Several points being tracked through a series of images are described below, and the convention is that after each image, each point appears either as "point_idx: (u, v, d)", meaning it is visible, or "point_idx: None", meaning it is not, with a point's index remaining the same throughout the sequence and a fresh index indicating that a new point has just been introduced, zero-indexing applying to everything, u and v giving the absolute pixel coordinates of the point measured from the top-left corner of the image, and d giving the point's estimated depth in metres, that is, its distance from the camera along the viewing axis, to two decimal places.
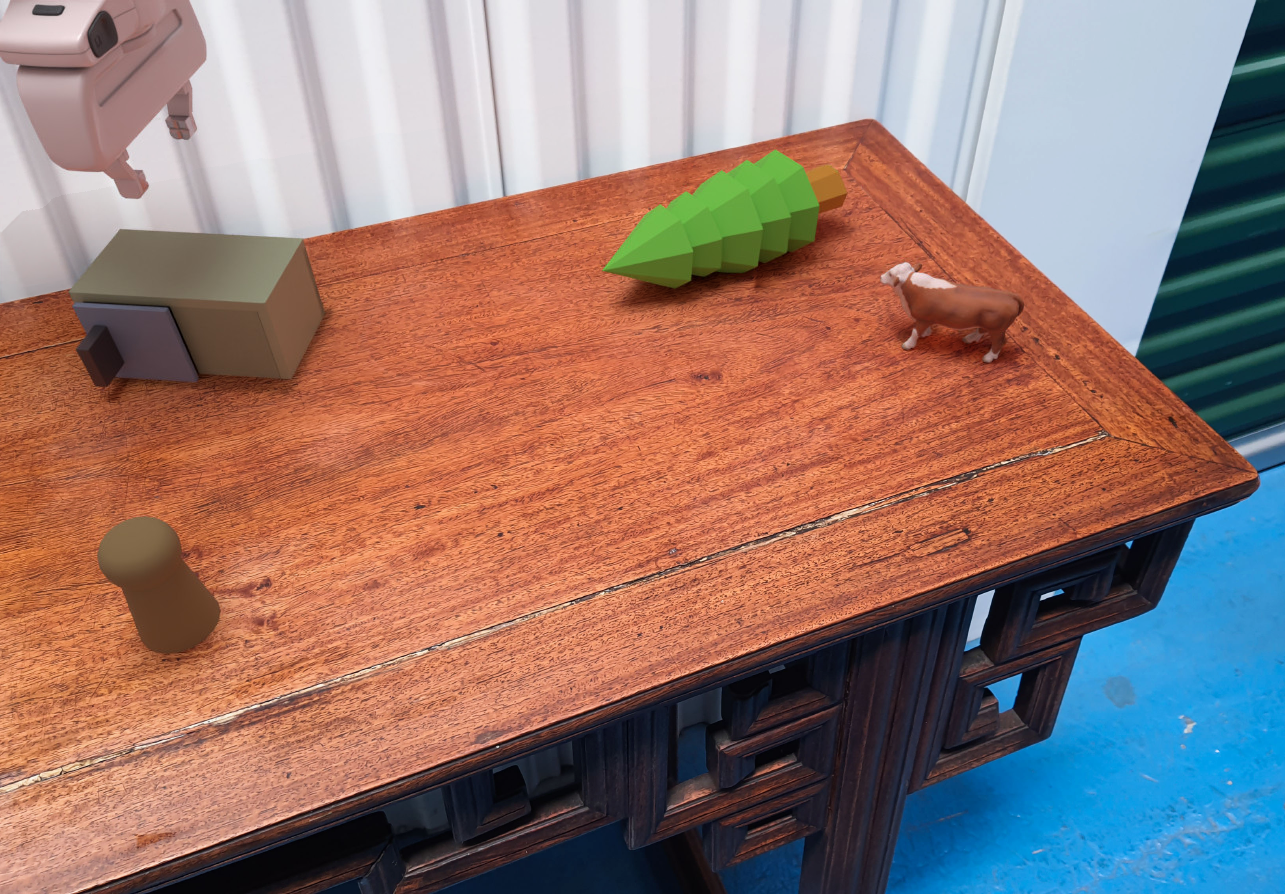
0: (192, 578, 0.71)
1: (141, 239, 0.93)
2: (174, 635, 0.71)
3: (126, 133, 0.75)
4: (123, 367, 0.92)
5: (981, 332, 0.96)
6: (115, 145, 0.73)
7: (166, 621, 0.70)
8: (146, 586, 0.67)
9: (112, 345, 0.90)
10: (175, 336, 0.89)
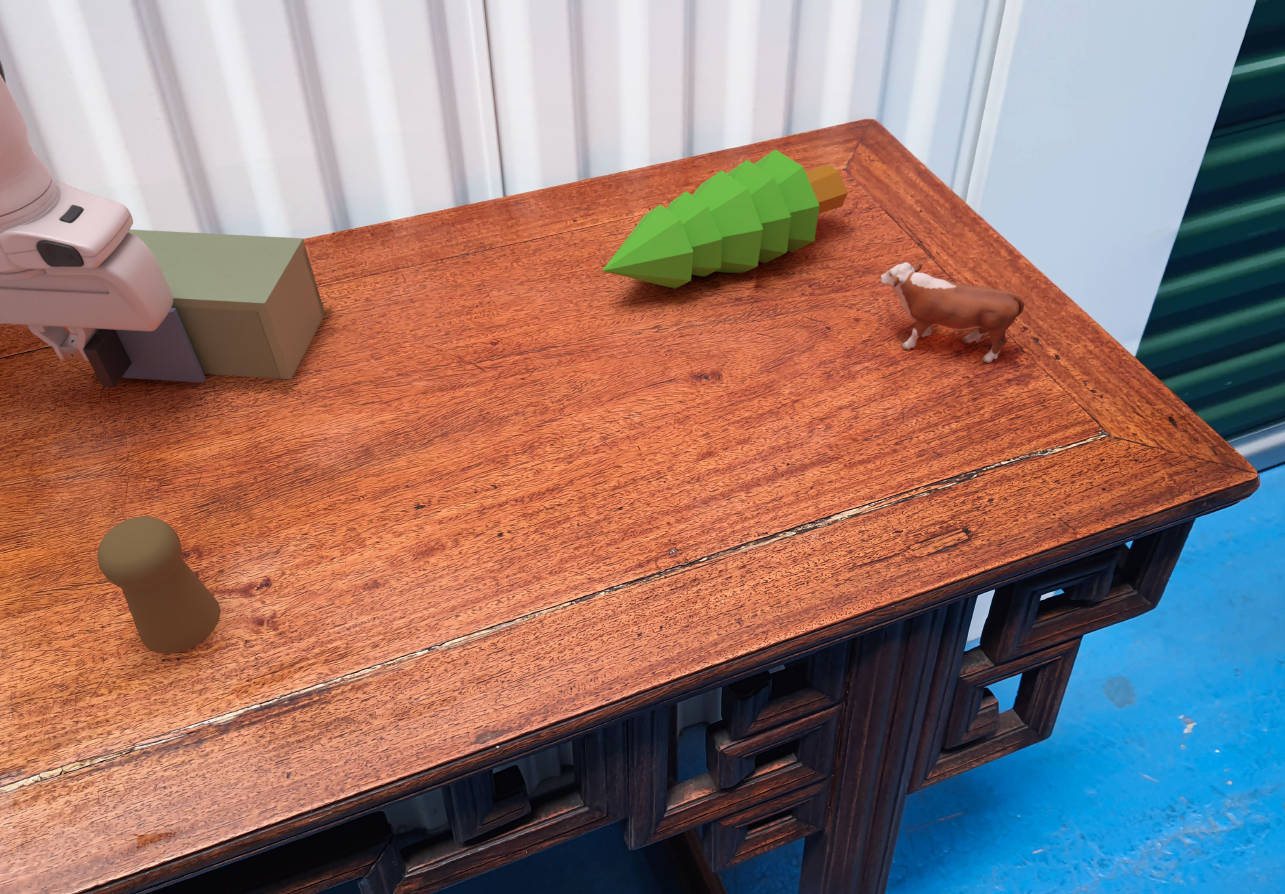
0: (191, 578, 0.71)
1: (141, 239, 0.93)
2: (174, 635, 0.71)
3: None
4: (130, 368, 0.92)
5: (981, 332, 0.96)
6: None
7: (166, 621, 0.70)
8: (146, 586, 0.67)
9: (119, 346, 0.90)
10: (183, 336, 0.89)
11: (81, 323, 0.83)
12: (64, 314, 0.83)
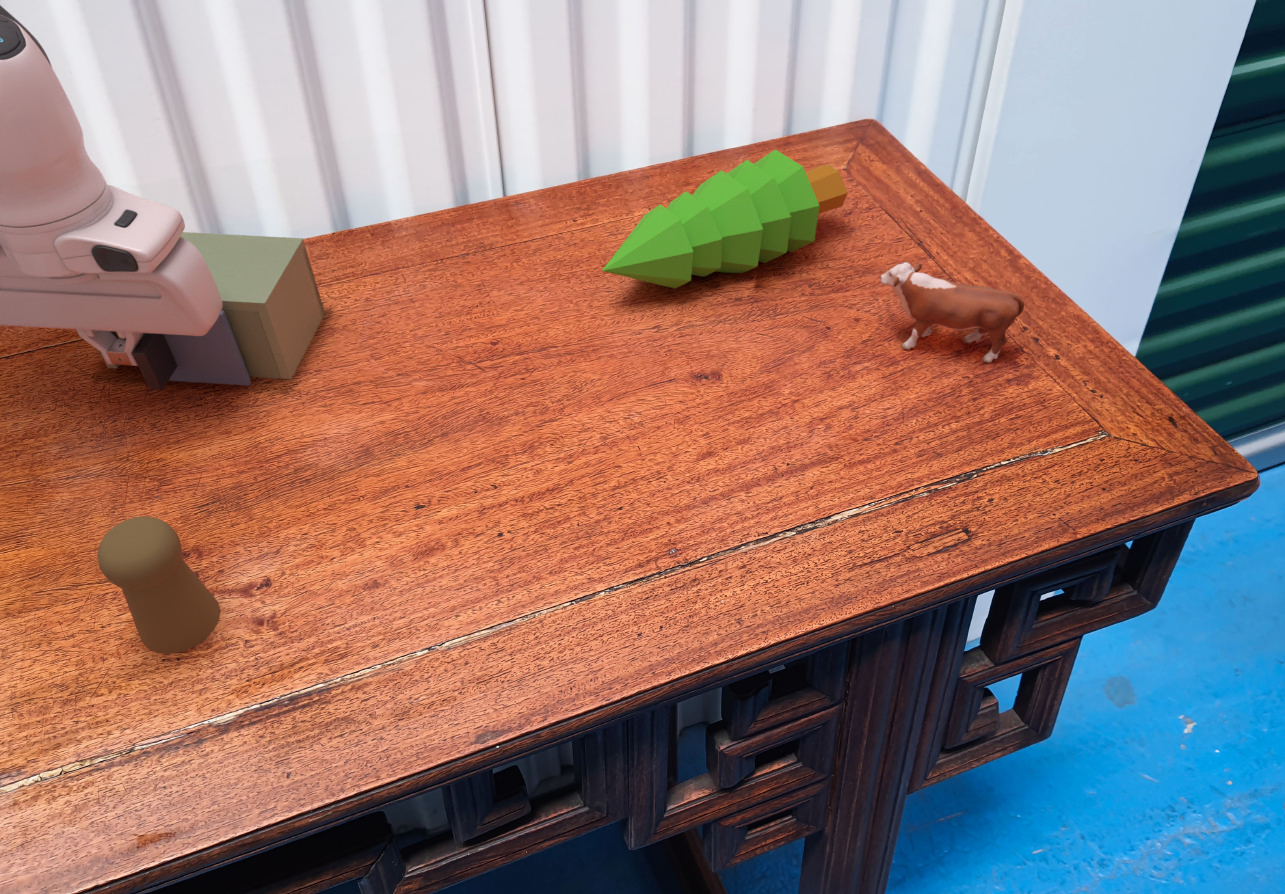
0: (192, 578, 0.71)
1: None
2: (173, 635, 0.71)
3: None
4: (176, 371, 0.92)
5: (981, 332, 0.96)
6: None
7: (166, 621, 0.70)
8: (146, 586, 0.67)
9: (166, 348, 0.89)
10: (230, 339, 0.88)
11: (132, 328, 0.83)
12: (114, 319, 0.82)
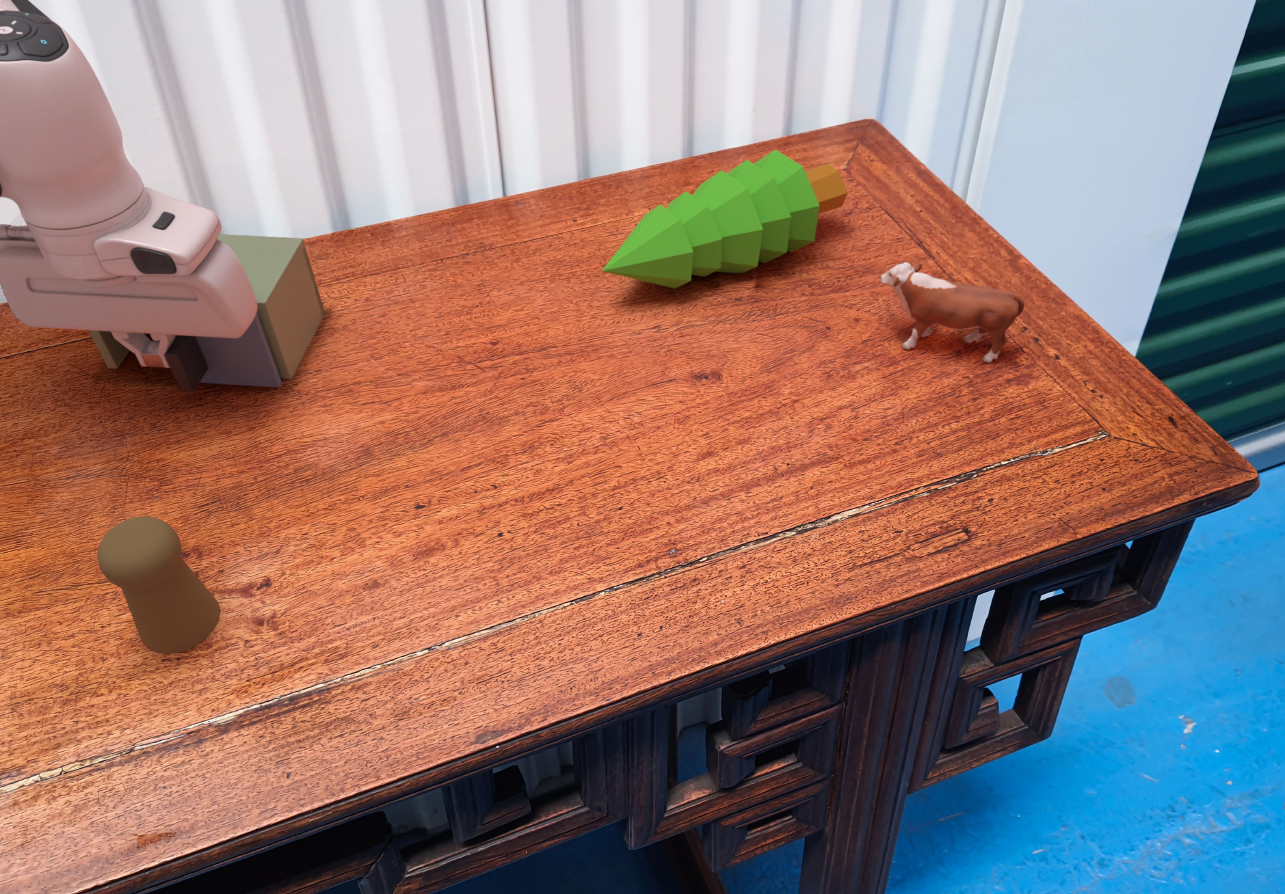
0: (191, 578, 0.71)
1: None
2: (174, 635, 0.71)
3: None
4: (206, 373, 0.92)
5: (981, 332, 0.96)
6: None
7: (166, 621, 0.70)
8: (146, 586, 0.67)
9: (198, 350, 0.89)
10: (262, 341, 0.88)
11: (167, 330, 0.83)
12: (150, 321, 0.82)
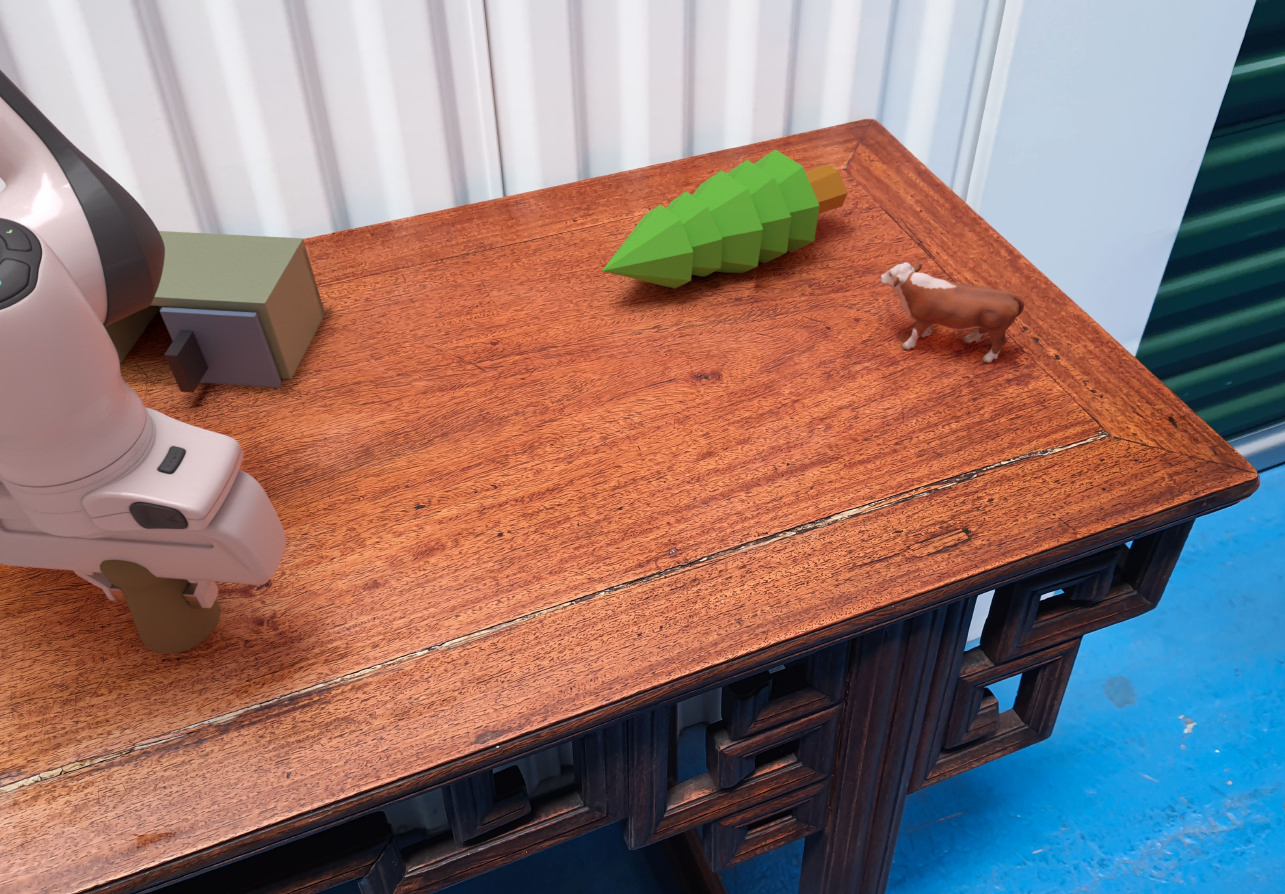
0: None
1: None
2: (173, 635, 0.71)
3: None
4: (206, 373, 0.92)
5: (981, 332, 0.96)
6: None
7: (166, 621, 0.70)
8: (145, 586, 0.67)
9: (198, 350, 0.89)
10: (262, 341, 0.88)
11: (174, 575, 0.67)
12: (153, 565, 0.66)
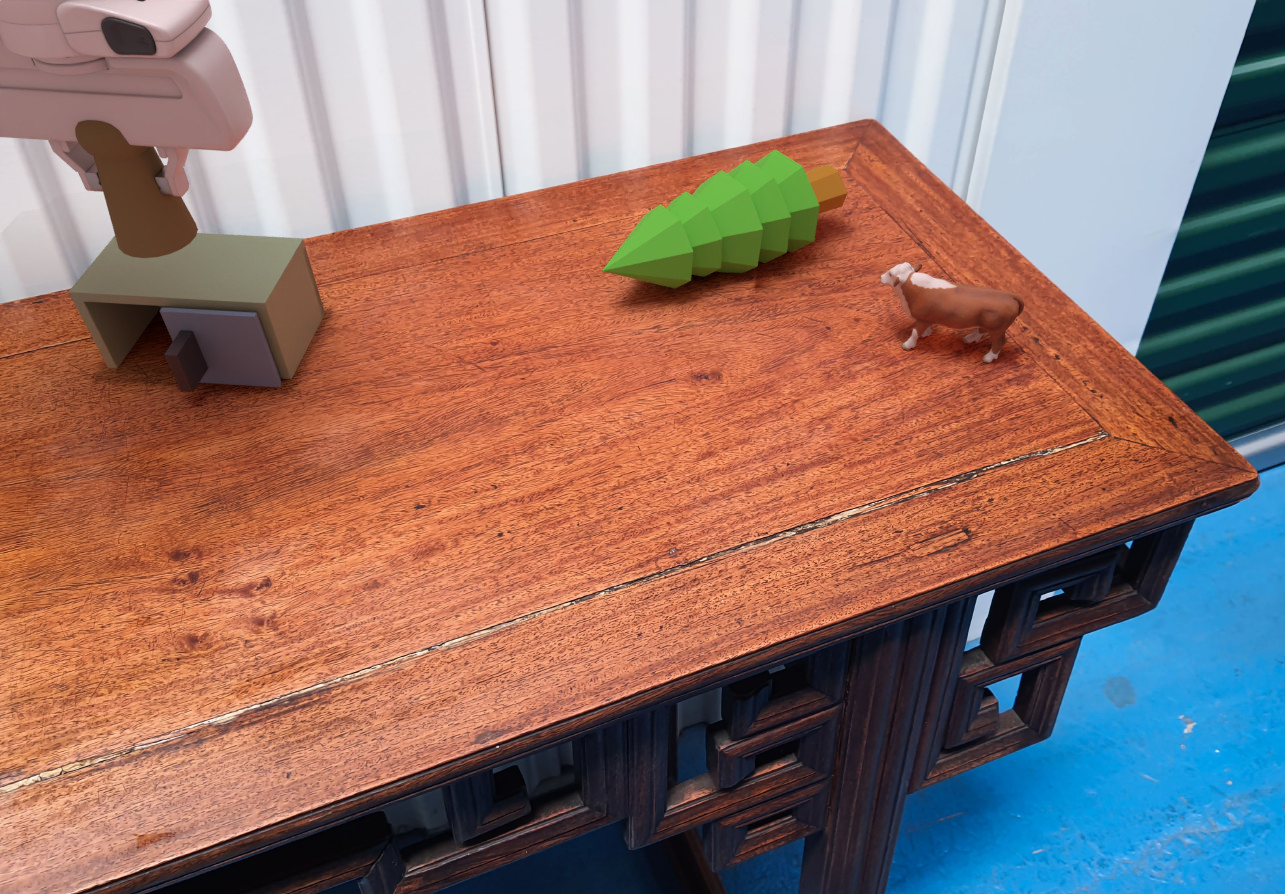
0: None
1: None
2: (145, 222, 0.75)
3: None
4: (206, 373, 0.92)
5: (981, 332, 0.96)
6: None
7: (138, 203, 0.74)
8: (118, 153, 0.71)
9: (198, 350, 0.89)
10: (262, 341, 0.88)
11: (146, 139, 0.70)
12: (126, 126, 0.70)
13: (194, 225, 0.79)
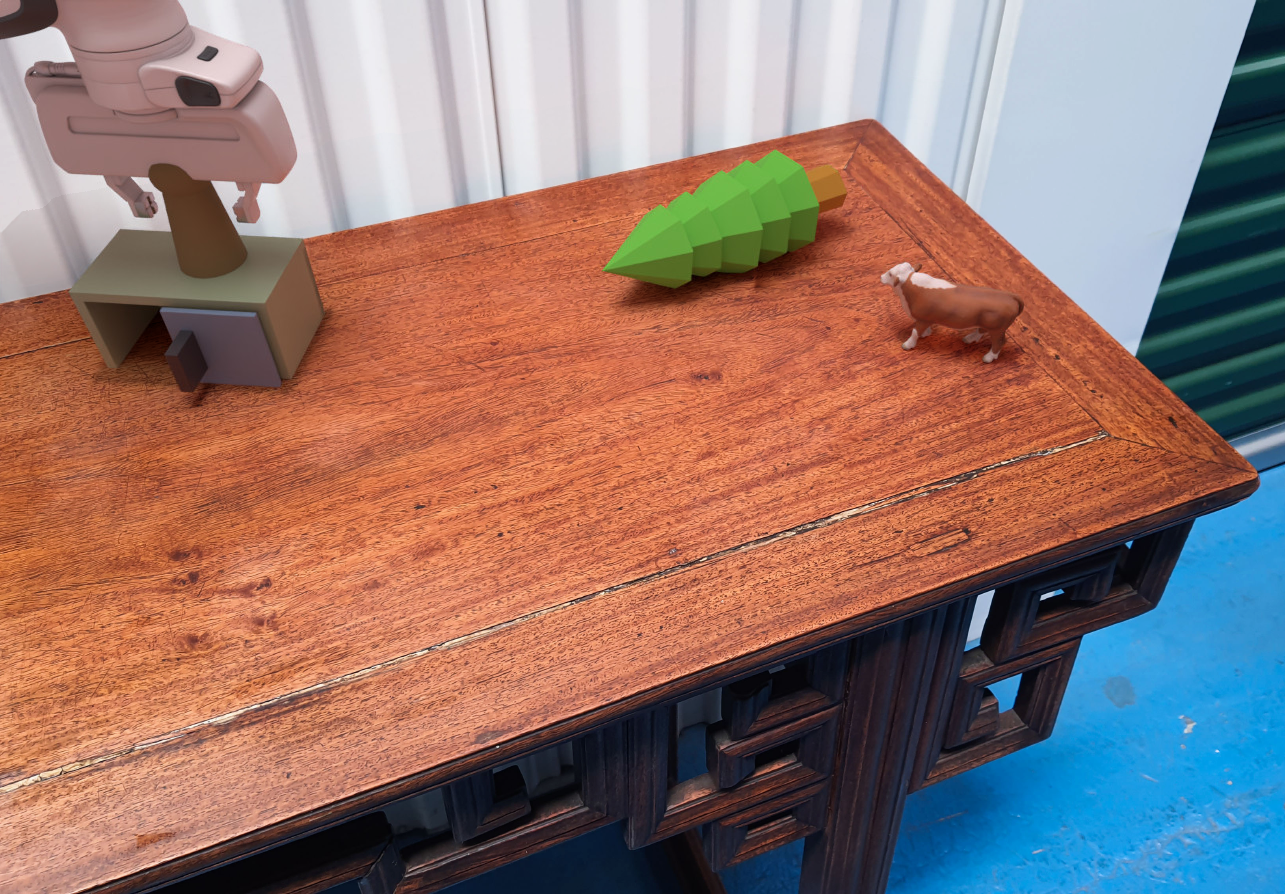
0: (220, 202, 0.87)
1: (141, 239, 0.93)
2: (205, 248, 0.87)
3: None
4: (206, 373, 0.92)
5: (981, 332, 0.96)
6: None
7: (199, 232, 0.86)
8: (184, 190, 0.83)
9: (198, 350, 0.89)
10: (262, 341, 0.88)
11: (207, 175, 0.83)
12: (190, 164, 0.82)
13: (245, 249, 0.91)
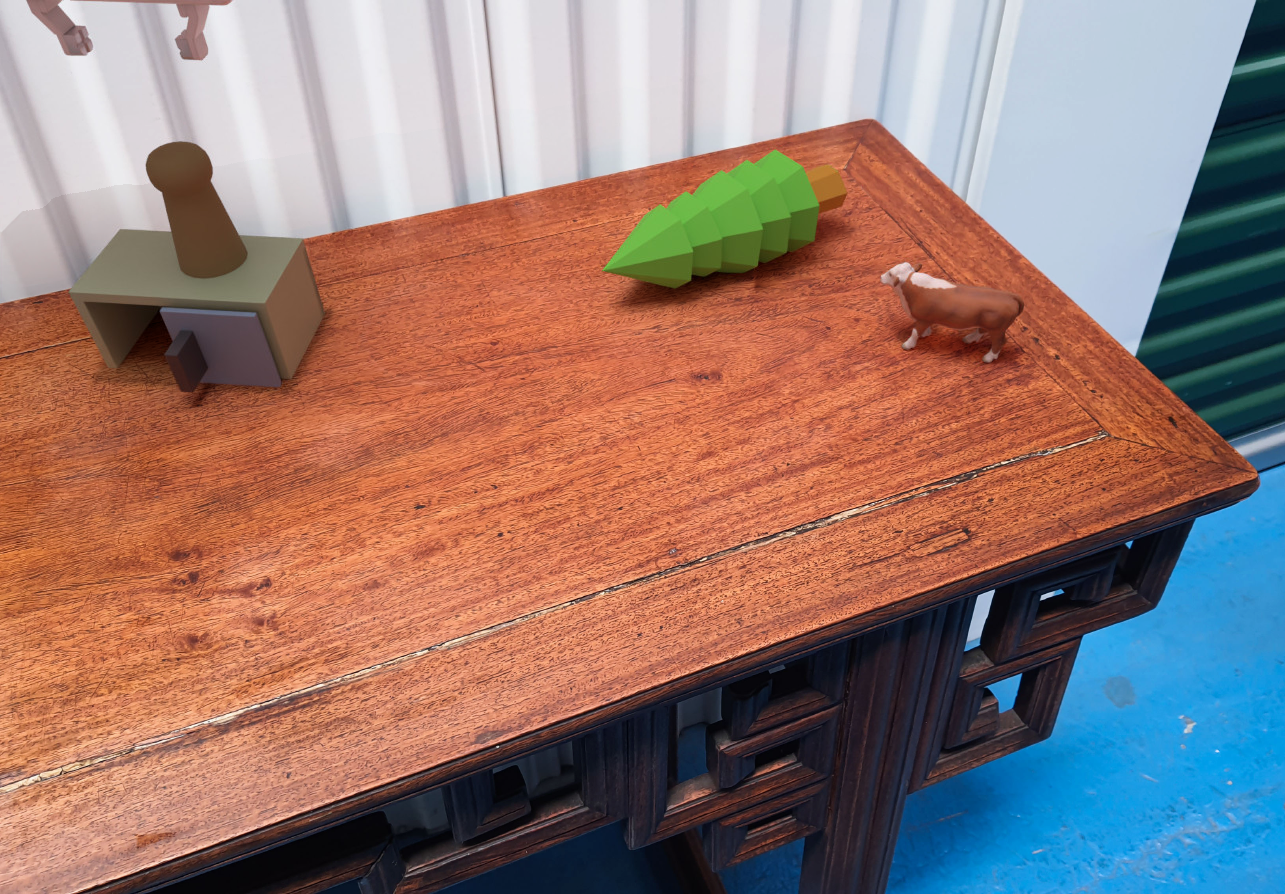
0: (220, 202, 0.87)
1: (141, 239, 0.93)
2: (205, 248, 0.87)
3: None
4: (206, 373, 0.92)
5: (981, 332, 0.96)
6: None
7: (199, 232, 0.86)
8: (184, 190, 0.83)
9: (198, 350, 0.89)
10: (262, 341, 0.88)
11: None
12: None
13: (245, 249, 0.91)
